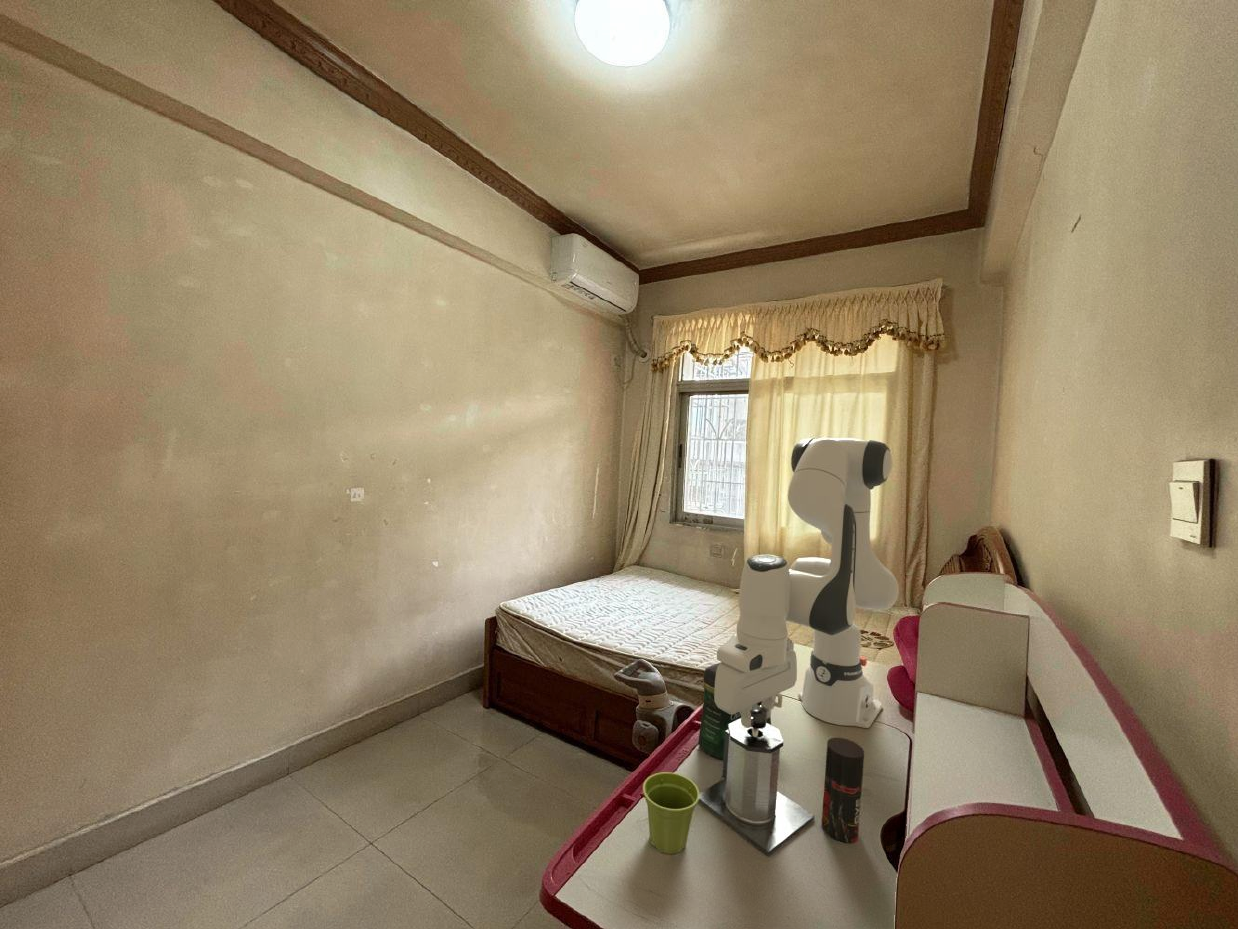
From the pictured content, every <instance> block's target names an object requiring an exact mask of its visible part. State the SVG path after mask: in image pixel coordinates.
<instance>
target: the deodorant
mask: <svg viewBox="0 0 1238 929" xmlns="http://www.w3.org/2000/svg"><path fill="white" fill-rule="evenodd" d="M826 743H827V744H826V757H825V771H824V773H825V774H824V784H823V786H824V787H823V798H822V811H821V812H822V813H821V829H822V831H823V833H824V834H825V835H826V836H828V837H829V838H830V839H832V840H834V841H835V842H838V843H840V844H846V845H847V844H850V845H851V844H854V843H855V842H857V840H858V838H859V828H860V816H861V804H862V802H861V801H862V790H863V789H862V787H863V775H864V763H865V751H864V748H863V747H862V746H861V745H859V744H858V743H857V742H855V741H853V740H850V739H848V738H846V737H845V738H844V737H831V738H829V739H828V740H827V742H826Z"/></svg>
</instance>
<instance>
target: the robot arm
mask: <svg viewBox="0 0 1238 929" xmlns="http://www.w3.org/2000/svg"><path fill="white" fill-rule="evenodd" d="M790 457H791V459H790V464H791V465H790V466H791V470H792V472H793V474H792V476H791V479H790V483H789V486H788V490H787V501H788V504H789V506H790V508H791V509H792V511H793V512H794V514H796V516H797V517H799V519H800V520H802V521H804V522H805V523H806V524H807V525H810V526H812V527H814V528H815V529H818V530H820V534H821V536H822V539H823V540H824V541H825V542H826V543H827V544H828V545H830V548H831V550H830V558H823V557H817V556H813V557H811V556H810V557H808V556H807V557H799V558H797V559H795V560H794V562H792V564H791V565H790V566H789V562H788V561H787V560H786V559H784V558H783V557H781V556H778V555H774V554H769V553H768V554H757V555H752V556H751V557H748V558H747V559H746V561H745V563H744V564H743V568H742V572H741V577H740V578H741V579H740V584H739V591H738V592H739V593H738V608H739V618H738V622H737V624H736V632H735V633H734V634H733V635H732V636H730V638H729V639H728V640H727V641H726V642H725V643H723V645H721V646H720V647H719V648H717V652H716V659H717V661H720V662H719V663H720V664H719V666H718V668H717V671H716V678H715V691H714V700H715V703H716V705H717V707H718V708H720V709H721V710H723V711H725V712H727V713H728V714H731V715H733V714H735V713H737V712H740V714H741V724H742V726H744V727H746V728H750V727H752V726H753V725H754V718H755V717H754V716H752V715H751V713H750V710H752V705H755V704H757V703H759V702H761V701H762V703H761V707H763V708H764V709H766V711H767V718H770V717H772V710H773V709H772V706H773V704H774V702H776V700H777V696H776V694H778V693H781V694H782V692H785V691H787V690H790V689H791V688H793V687H795V685H796V683H797V678H798V663H797V662H798V660H797V659H798V658H797V653H796V651H795V650H794V648H795V646H794V645H795V644H794V642H793V641H792V639H791V638H790V637H788V634H789V632H788V627H787V622H791V623H793V624H797V625H802V626H805V627H809V628H811V629H813V646H812V651H811V653H810V656H809V657H810V659H809V660H810V663H809V667H808V668H806V669H805V674H804V679H803V680H804V681H803V685H802V686H803V687H802V690H801V691H799V692H798V698H799V699H800V701H801V704H802V707H803V709H804V710H805V711H806V712H807V713H808V714H810V715H811V716H813V717H815V718H816V719H819V720H820V721H824V722H827V723H829V724H833V725H838V726H847V727H849V726H851V727H857V728H858V727H859V728H863V729H868V728H870V727H871V726H872V724H873V723H874V722H875V719H876V718H877V716H878V715H879V714H880V712H881V711H882V709H883V704H882V702H881V701H880V700H878V699H877V698H876V697H874V684H873V683H872V682H871V681H870V680H869V679H868V678H867V677H866V676H865V675H864V672H863V667H866V666H867V663H868V662H867V660H868V659H867V658H865V657H862V656H861V646H862V633H861V629H860V628H859V627H858V626H857V624H856V623H855V622H854V620H855V617H856V608H858V609H862V610H867V611H868V610H869V611H875V610H876V611H878V610H879V611H884V610H885V611H887V610H890V608H892V607H893V606H894V605H895V603H896V602H897V601H898V599H899V594H900V586H899V583H898V580H897V578H896V577H895V575H894V573H892V571H890V570H889V569H888V568H886V566H884V564H883V563H882V562H881V561H880V560H879V558H878V557H877V556H876V554H875V552H874V549H873V547H872V542H871V533H870V532H871V525H870V524H871V520H870V519H871V509H872V508H871V507H872V505H871V504H872V502H871V501H872V498H871V495H872V494H871V490H873V489H875V487H878V486H881V485H882V484H884V483H885V482H886V481H887V480H888V478H889V476H890V473H891V471H892V469H893V457H892V454H891V450H890V448H889V447H888V445H887V444H886V443H885V442H882V441H877V440H872V439H869V440H865V439H859V438H858V439H857V438H849V437H840V438H828V437H822V438H818V439H817V438H813V437H812V438H805V439H801V440H800V441H799V442H797V443H796V444H795V445H794V447H793V449H792V452H791V456H790ZM789 567H790V568H789ZM771 709H772V710H771Z"/></svg>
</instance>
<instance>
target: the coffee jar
mask: <svg viewBox="0 0 1238 929" xmlns="http://www.w3.org/2000/svg"><path fill="white" fill-rule="evenodd" d="M720 663H721V662H719V663H716V664H712V665H710V666H708V667H706V668H705V669H704V671H703V672H704V674H703V679H702V681H703V682H702V685H703V701H702V702H703V703H702V704H703V705H702V713H701V721H700V725H699V726H700V727H699V732H698V733H699V734H698V746H699V747H700V748H701V750H702V751H703V752H705V753H706V754H707V755H709V756H711V757H715V758H719V759H722V760H723V757H724V741H725V731H726V730H728V724H730V723H732V722H734V721H736V720H738V719H740V718H741V714H740V712H737V713H735V714H733V715H731V714H728V713H727V712H725V711H723V710H721V709H720V708H718V707H717V705H716V703H715V700H714V691H715V678H716V671H717V668H718V666H719V664H720Z"/></svg>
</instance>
